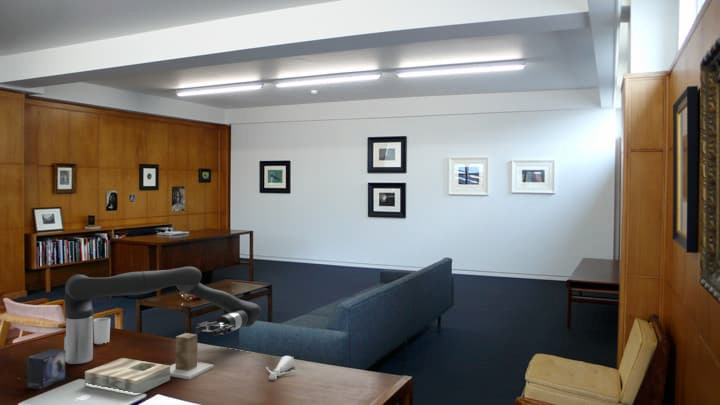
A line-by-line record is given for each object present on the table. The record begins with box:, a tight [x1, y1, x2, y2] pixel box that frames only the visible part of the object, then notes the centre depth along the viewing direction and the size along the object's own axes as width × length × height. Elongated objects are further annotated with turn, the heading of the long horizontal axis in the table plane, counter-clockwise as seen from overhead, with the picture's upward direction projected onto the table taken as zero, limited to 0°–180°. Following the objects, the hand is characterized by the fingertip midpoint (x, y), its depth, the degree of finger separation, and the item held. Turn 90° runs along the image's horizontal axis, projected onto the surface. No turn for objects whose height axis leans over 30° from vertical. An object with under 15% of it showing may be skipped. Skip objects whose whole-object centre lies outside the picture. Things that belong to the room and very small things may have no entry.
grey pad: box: [169, 361, 215, 380], centre depth 194 cm, size 14×14×1 cm
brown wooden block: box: [175, 332, 198, 371], centre depth 194 cm, size 5×5×12 cm
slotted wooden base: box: [84, 357, 171, 394], centre depth 180 cm, size 22×16×5 cm
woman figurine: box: [266, 355, 296, 381], centre depth 194 cm, size 12×4×18 cm
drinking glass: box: [93, 317, 111, 345], centre depth 227 cm, size 7×7×10 cm
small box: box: [26, 348, 66, 390], centre depth 179 cm, size 11×6×10 cm, turn 168°
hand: (204, 332), depth 204 cm, fingers open, 8 cm apart
